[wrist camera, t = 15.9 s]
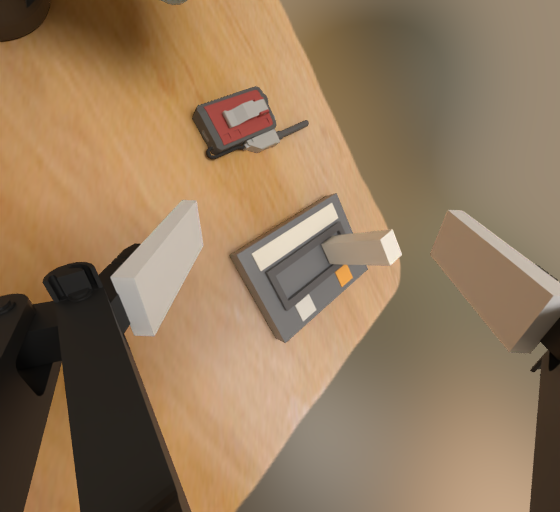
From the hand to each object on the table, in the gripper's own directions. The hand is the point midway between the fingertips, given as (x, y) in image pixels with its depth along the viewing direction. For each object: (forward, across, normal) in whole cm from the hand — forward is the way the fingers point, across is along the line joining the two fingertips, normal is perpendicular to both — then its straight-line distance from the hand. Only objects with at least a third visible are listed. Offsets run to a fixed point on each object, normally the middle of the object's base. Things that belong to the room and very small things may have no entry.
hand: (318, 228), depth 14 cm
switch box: (+26, +2, -20) cm, 33 cm away
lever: (+27, +6, -18) cm, 33 cm away
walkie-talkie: (+34, -8, +1) cm, 35 cm away
